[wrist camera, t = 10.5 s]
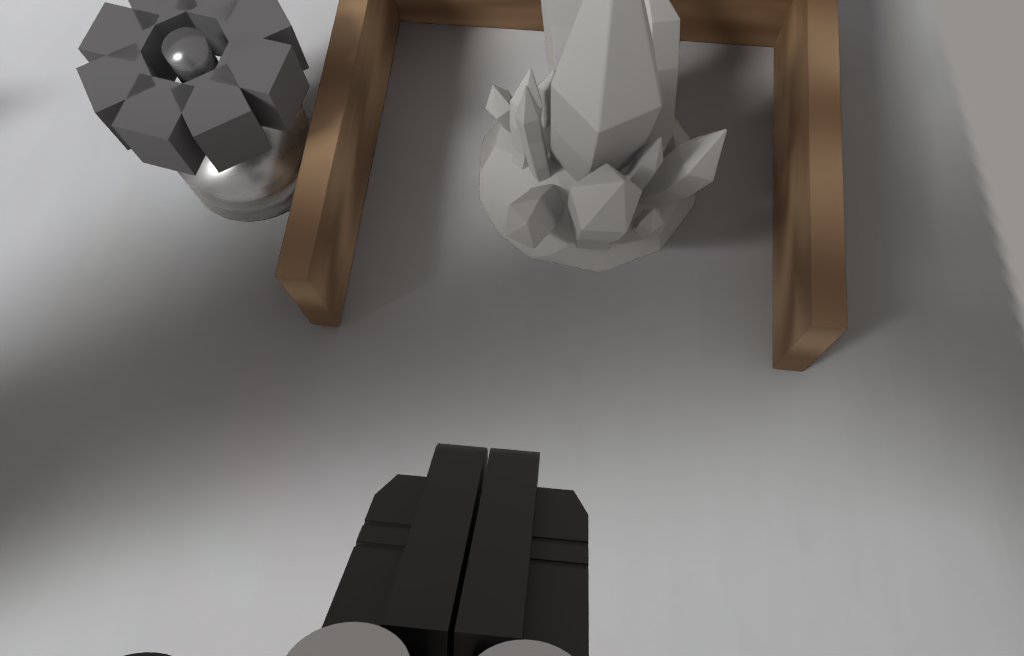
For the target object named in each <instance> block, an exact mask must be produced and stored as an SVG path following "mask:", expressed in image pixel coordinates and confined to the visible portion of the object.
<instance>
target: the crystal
mask: <svg viewBox="0 0 1024 656" xmlns="http://www.w3.org/2000/svg"><path fill="white" fill-rule="evenodd" d="M541 7H542V17H543V25H544V34H545V42H546V51H547V59H548V67H549V75H548V76H547V77H546V78H545V79H544V80H543V81H542V82H541V83H540V84H539V85H538V86H537V84H536V81H535V78H534V75H533V72H532V69H531V68H530V69H529V70H528V72H527V74H526V75H525V77H524V79H523V80H522V82H521V84H520V85H519V87H518V89H517V90H516V92H515V94H514V95H513V97H512V96H511V94H510V92H509V91H507V90H504V89H502V88H500V87H497V86H495V85H492V88H491V91H490V94H489V98H488V101H487V104H486V108H485V109H486V110H487V112H488V113H489V114H490V115H491V117H492V118H493V119H494V120H495V121H496V122H497V123H496V124H495V125H494V126H493V128H492V129H491V130H490V131H489V132H488V134H487V135H486V136H485V137H484V139H483V143H482V154H481V164H480V183H479V199H480V201H481V203H482V205H483V206H484V208H485V210H486V212H487V213H488V215H489V217H490V219H491V221H492V222H493V224H494V226H495V228H496V229H497V231H498V233H499V234H501V235H502V236H503V237H504V238H506V239H507V240H508V241H509V242H511V243H512V244H513V245H514V246H516V247H517V248H518V249H519V250H521V251H522V252H523V253H524V254H526V255H527V256H528V257H529V258H531V259H537V260H543V261H548V262H554V263H559V264H563V265H568V266H573V267H578V268H583V269H588V270H592V271H597V272H602V271H606V270H609V269H611V268H614V267H617V266H619V265H622V264H624V263H627V262H630V261H632V260H635V259H638V258H640V257H643V256H646V255H648V254H651V253H653V252H656V251H659V250H661V249H662V247H663V246H664V245H665V243H666V242H667V241H668V239H669V238H670V237H671V235H672V234H673V233H674V231H675V230H676V229H677V227H678V226H679V225H680V223H681V222H682V221H683V219H684V218H685V217H686V215H687V214H688V213H689V211H690V210H691V209H692V207H693V206H694V204H695V200H696V192H697V191H698V190H700V189H702V188H703V187H705V186H706V185H708V184H710V183H711V182H713V181H714V177H715V174H716V170H717V166H718V163H719V159H720V155H721V152H722V148H723V144H724V141H725V137H726V134H727V129H723V130H720V131H716V132H712V133H708V134H705V135H701V136H697V137H695V138H693V139H690V138H689V136H688V135H687V133H686V132H685V130H684V129H683V128H682V126H681V125H680V123H679V122H678V120H677V119H676V117H675V116H674V114H675V103H676V92H677V80H678V69H679V40H680V18H679V16H678V14H677V13H676V11H675V9H674V8H673V6H672V4H671V2H670V1H669V0H541Z"/></svg>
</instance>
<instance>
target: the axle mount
mask: <svg viewBox="0 0 1024 656" xmlns="http://www.w3.org/2000/svg"><path fill="white" fill-rule="evenodd" d="M161 50H162V53H163V55H164V57H165V58H166V60H167V61H168V63H169V64H170V66H171V67H172V69H173V70H174V72H175V73H176V75H177V76H178V78H179V79H180V81H181V82H182V84H183V83H185V82H188V81H190V80H192V79H194V78H197V77H199V76H201V75H203V74H206V73H208V72H210V71H212V70H215V68H216V66H217V64H218V60H217V58H216V56H215V55H214V53H213V51H212V49H211V48H210V46H209V44H208V43H207V41H206V39H205V37H204V36H203V34H202V33H201V32H200V31H199V30H197V29H195V28H191V27H183V28H179V29H176V30H174V31H172V32H171V33H169V34H168V35H167V36H166V37H165V39H164V40H163V43H162V47H161ZM261 127H262V129H263V131H264V133H265V135H266V136H267V138H268V140H269V142H270V144H271V146H272V149H270V150H268V151H266V152H263V153H261V154H259V155H257V156H255V157H253V158H250V159H248V160H246V161H244V162H242V163H240V164H238V165H235V166H233V167H231V168H229V169H227V170H225V171H223V172H220V173H218V171H217V170H216V169H215V167H214V166H213V164H212V163H211V162H210V160H209V159H208V157H207V156H205V158H204V160H203V162H202V164H201V166H200V168H199V170H198V172H197V174H196V176H195V175H191V174H187V173H183V172H179V171H178V173H179V174H180V175H181V176H182V178H183V179H184V180H185V181H186V182H187V184H188V185H189V186H190V187H191V189H192V190H193V191H194V192H195V194H196V195H197V196H198V197H199V199H200V200H201V201H202V202H203V204H204V205H206V206H207V207H208V208H209V209H210V210H212V211H213V212H215V213H216V214H218V215H220V216H222V217H225V218H228V219H232V220H237V221H259V220H265V219H268V218H272V217H275V216H277V215H280V214H282V213H284V212H286V211H288V210H289V209H291V205H292V200H293V196H294V192H295V187H296V183H297V179H298V175H299V170H300V166H301V162H302V158H303V153H304V149H305V145H306V140H307V136H308V132H309V128H310V121H309V118H308V116H307V114H306V112H305V110H304V108H303V105H302V104H301V106H300V109H299V111H298V113H297V115H296V117H295V120H294V122H293V124H292V126H291V128H290V131H289V133H288V132H284V131H280V130H276V129H271V128H267V127H263V126H261Z"/></svg>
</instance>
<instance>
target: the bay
mask: <svg viewBox="0 0 1024 656" xmlns="http://www.w3.org/2000/svg"><path fill="white" fill-rule="evenodd" d="M669 1H670V2H671V4H672V6H673V8H674V9H675V11H676V13H677V14H678V16H679V18H680V40H682V41H696V42H711V43H725V44H740V45H754V46H769V47H774V218H773V368H774V369H784V370H795V371H804V370H805V369H806V368H807V367H808V366H809V365H810V364H811V363H812V362H813V361H814V360H816V359H817V358H818V357H819V356H820V355H821V354H822V353H823V352H824V351H825V350H826V349H827V348H828V347H829V346H830V345H831V344H832V343H833V342H834V341H835V340H837V339H838V338H839V337H840V336H841V335H842V334H843V333H844V332H845V331H846V330H847V296H846V263H845V230H844V197H843V164H842V130H841V97H840V64H839V31H838V0H669ZM400 21H407V22H422V23H436V24H451V25H465V26H480V27H494V28H509V29H523V30H537V31H544V25H543V17H542V7H541V0H339V4H338V8H337V12H336V16H335V21H334V25H333V29H332V34H331V38H330V42H329V46H328V51H327V55H326V59H325V63H324V68H323V72H322V76H321V81H320V85H319V89H318V93H317V98H316V102H315V106H314V111H313V115H312V119H311V123H310V128H309V132H308V136H307V140H306V145H305V149H304V153H303V158H302V162H301V166H300V170H299V175H298V179H297V183H296V187H295V192H294V196H293V200H292V205H291V209H290V213H289V217H288V222H287V226H286V230H285V235H284V239H283V243H282V247H281V252H280V256H279V260H278V264H277V269H276V273H275V277H276V278H277V279H278V281H279V282H280V283H281V284H282V286H283V287H284V288H285V290H286V291H287V292H288V294H289V295H290V296H291V297H292V299H293V300H294V301H295V303H296V304H297V305H298V307H299V308H300V309H301V310H302V312H303V313H304V314H305V316H306V317H307V318H308V320H309V321H310V322H311V323H312V324H320V325H331V326H340V321H341V316H342V311H343V306H344V301H345V296H346V291H347V286H348V281H349V276H350V271H351V266H352V261H353V256H354V251H355V246H356V241H357V236H358V231H359V226H360V221H361V216H362V211H363V206H364V201H365V196H366V191H367V186H368V180H369V175H370V170H371V165H372V160H373V155H374V150H375V145H376V140H377V135H378V130H379V125H380V120H381V115H382V110H383V105H384V100H385V95H386V90H387V85H388V80H389V75H390V70H391V65H392V60H393V55H394V50H395V45H396V40H397V35H398V30H399V25H400Z"/></svg>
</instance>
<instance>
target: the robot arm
mask: <svg viewBox="0 0 1024 656" xmlns="http://www.w3.org/2000/svg"><path fill="white" fill-rule="evenodd" d="M539 460H540V452H530V451H519V450H508V449H497V448H491V450H490V454H489V459H488V450H487V448H484V447H473V446H462V445H451V444H440V443H438V444H437V446H436V449H435V452H434V455H433V458H432V462H431V465H430V468H429V471H428V474H427V477H421V476H411V475H400V474H398V475H397V476H395V477H394V478H393V479H392V480H391V481H390V482H389V483H388V484H386V485H385V486H384V487H383V488H382V489H381V490H380V491H379V492H377V493H376V494H375V496H374V498H373V501H372V503H371V506H370V508H369V511H368V513H367V516H366V518H365V523H364V525H363V526H362V528H361V531H360V533H359V536H358V538H357V541H356V547H354V548H353V551H352V553H351V556H350V558H349V561H348V563H347V566H346V568H345V571H344V573H343V576H342V578H341V581H340V583H339V586H338V588H337V591H336V593H335V596H334V598H333V601H332V603H331V606H330V608H329V611H328V613H327V616H326V618H325V621H324V623H323V626H322V628H321V629H319V630H316V631H314V632H312V633H311V634H309V635H308V636H306V637H304V638H303V639H302V640H301V641H299V642H298V643H297V644H296V645H295V646H294V647H293V648H292V649H291V650H290V651H289V653H288V654H287V656H589V603H588V514H587V512H586V510H585V509H584V507H583V505H582V504H581V502H580V500H579V499H578V497H577V495H576V494H575V492H574V491H573V490H562V489H551V488H541V487H537V485H538V473H539ZM125 656H170V655H167V654H162V653H150V652H144V653H135V654H130V655H125Z"/></svg>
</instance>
